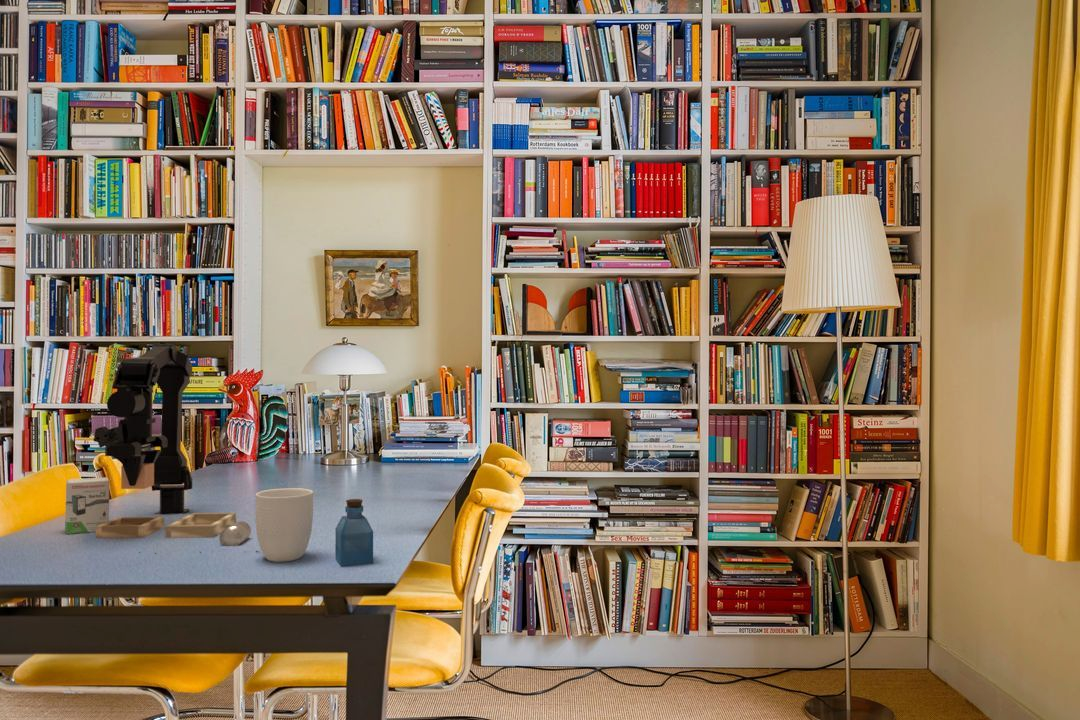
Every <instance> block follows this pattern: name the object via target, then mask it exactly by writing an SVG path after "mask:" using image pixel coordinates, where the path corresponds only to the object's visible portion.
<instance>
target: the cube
mask: <svg viewBox="0 0 1080 720" xmlns="http://www.w3.org/2000/svg"><path fill="white" fill-rule="evenodd" d="M120 472H121V479H120V481H121V484H120V485H121V486H120V487H121V488H120V489H121V490H129V489H130V490H136V489H137V490H140V489H141V490H143V489H148V488H152V487H151V486H153V485H154V463H143V464H142V467H141V470H140V473H139V477H138V479H137V482H136V485H135V486H130V485H129V482H128V479H127V476H126V473H125V470H124V467H123V465H121V471H120Z"/></svg>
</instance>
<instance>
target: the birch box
mask: <svg viewBox="0 0 1080 720" xmlns="http://www.w3.org/2000/svg"><path fill="white" fill-rule="evenodd" d="M236 522H237V512H192V513H190V514H188V515H186V516H184V517H182V518H180V519H178V520H176V521H174V522H172V523H170V524H168V525H166V526H165V534H164V535H165V538H166V539H171V538H172V539H177V538H179V539H181V538H184V539H186V538H191V539H192V538H193V539H194V538H196V539H197V538H198V539H199V538H201V539H202V538H205V539H206V538H207V539H208V538H215V537H216V536H218V535H220V534H221V532H222V531H223V530H225V529H226V528H228V527H229V526H231V525H233V524H234V523H236Z"/></svg>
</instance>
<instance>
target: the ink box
mask: <svg viewBox="0 0 1080 720" xmlns="http://www.w3.org/2000/svg"><path fill="white" fill-rule="evenodd" d="M64 517H65V520H64V521H65V522H64V523H65V526H64V532H65V533H66V535H73V534H74V533H75V534H82V533H83V534H85V533H96V526H98V525H101V524H103V523H106V522H108V521H110V519H109V518H110V479H109V478H108V477H106V476H105V477H104V476H103V477H86V478H85V477H82V478H70V479H68V480H66V485H65V515H64Z"/></svg>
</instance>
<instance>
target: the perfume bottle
mask: <svg viewBox="0 0 1080 720" xmlns="http://www.w3.org/2000/svg"><path fill="white" fill-rule="evenodd" d="M345 502H346V506H345V507H344V508H345V510H344V511H345V513H346V515H342V516H341V518H340V519H339V521H338V523H337V524H336V527H335V545H334V546H335V547H334V548H335V552H334V553H335V555H334V557H335V558H334V559H335V561H336V563H337V564H338V566H340V567H353V566H361V565H362V566H363V565H372V564H374V531H373V528H372V527H371V524H370V522H369V521H368V518H366V516H364V514H363V512H364V505H362V504H363V499H360V498H352V499H351V498H349V499H346V500H345Z"/></svg>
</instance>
